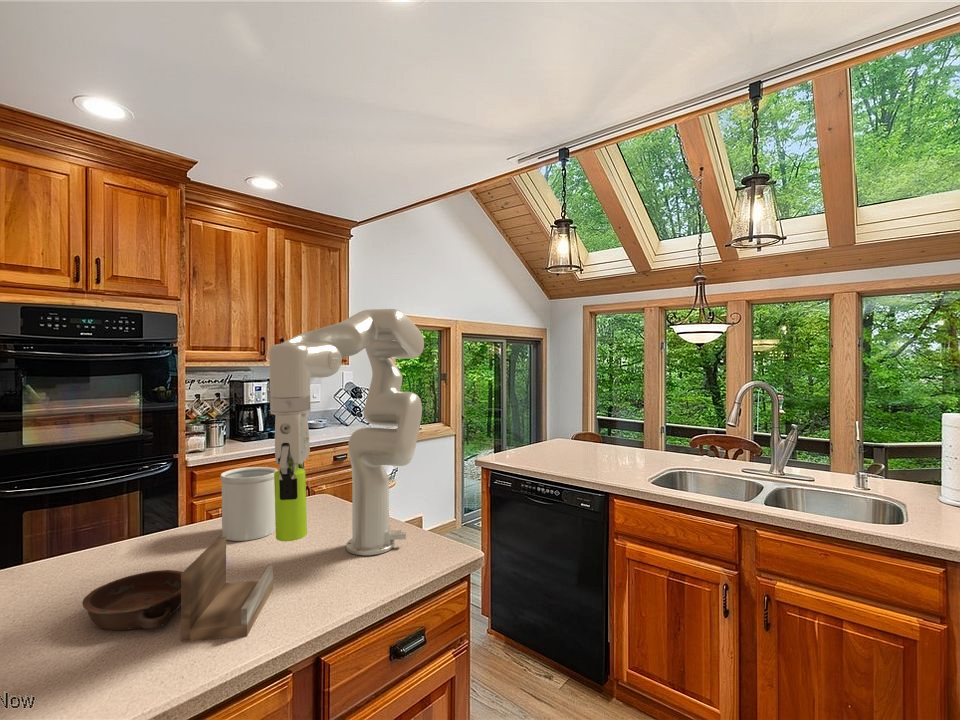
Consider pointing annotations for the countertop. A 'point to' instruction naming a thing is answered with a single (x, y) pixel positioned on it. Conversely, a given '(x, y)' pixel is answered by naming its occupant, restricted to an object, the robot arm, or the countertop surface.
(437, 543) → the countertop surface
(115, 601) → the dish
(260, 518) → the utensil holder
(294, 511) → the soap dispenser
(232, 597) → the board
